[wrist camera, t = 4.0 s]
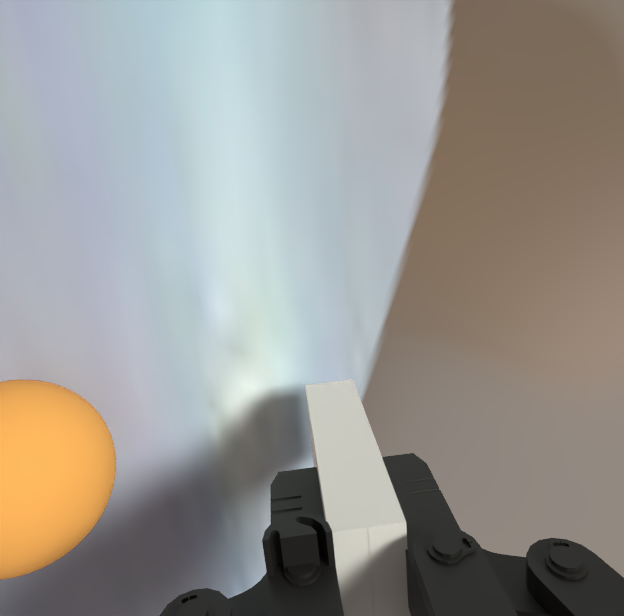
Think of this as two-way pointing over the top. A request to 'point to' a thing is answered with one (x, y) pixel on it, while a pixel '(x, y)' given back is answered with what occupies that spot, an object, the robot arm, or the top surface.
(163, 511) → the top surface
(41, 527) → the ball
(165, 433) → the top surface
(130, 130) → the top surface
